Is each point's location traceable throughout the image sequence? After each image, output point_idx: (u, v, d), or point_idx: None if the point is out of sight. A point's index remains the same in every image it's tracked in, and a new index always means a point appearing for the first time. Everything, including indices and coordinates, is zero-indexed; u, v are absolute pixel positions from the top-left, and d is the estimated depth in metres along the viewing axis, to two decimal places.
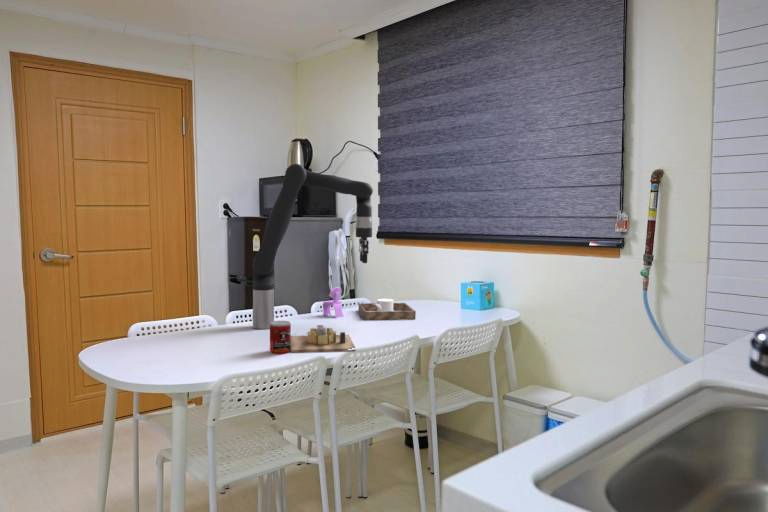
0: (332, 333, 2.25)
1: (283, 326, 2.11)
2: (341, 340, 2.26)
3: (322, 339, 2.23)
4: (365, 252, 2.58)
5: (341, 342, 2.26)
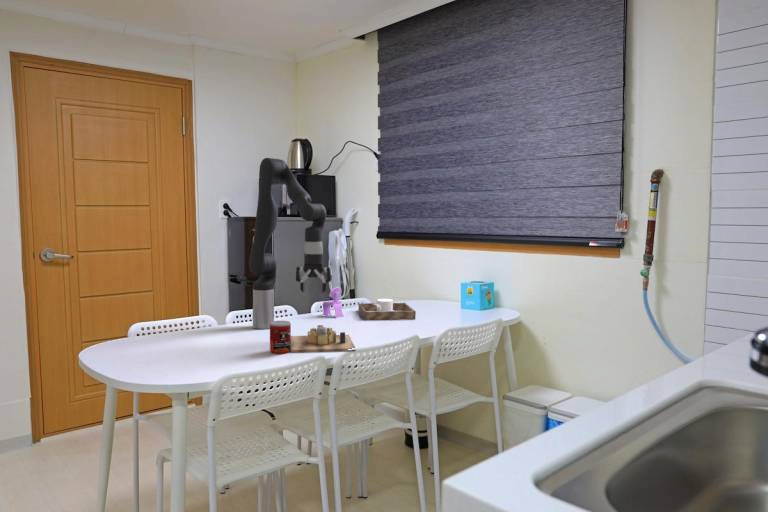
0: (332, 333, 2.25)
1: (283, 326, 2.11)
2: (341, 340, 2.26)
3: (322, 339, 2.23)
4: (330, 280, 2.36)
5: (341, 342, 2.26)
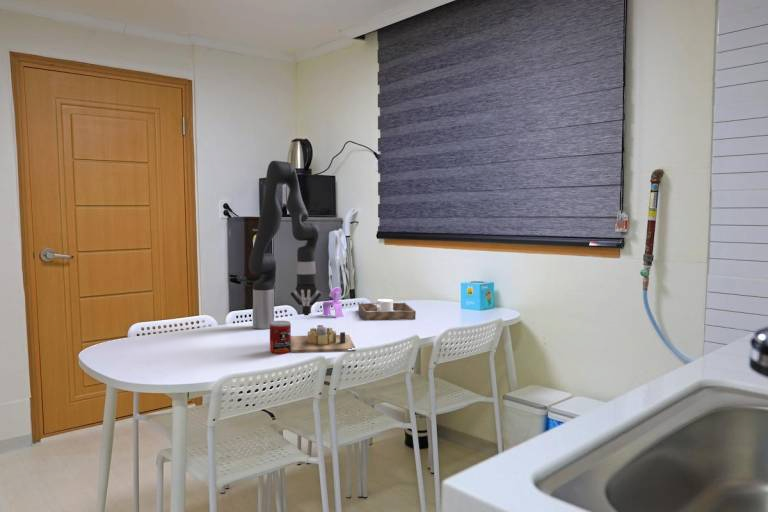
0: (332, 333, 2.25)
1: (283, 326, 2.11)
2: (341, 340, 2.26)
3: (322, 339, 2.23)
4: (313, 303, 2.34)
5: (341, 342, 2.26)
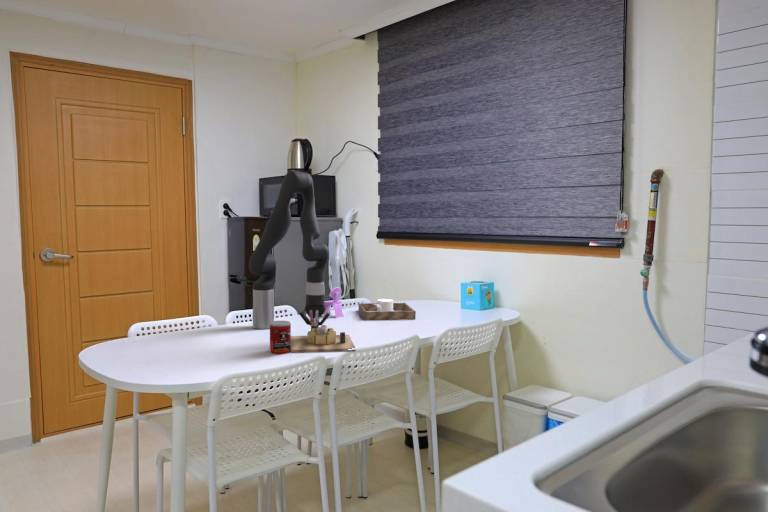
0: (331, 333, 2.24)
1: (283, 326, 2.11)
2: (341, 340, 2.26)
3: (320, 339, 2.22)
4: None
5: (341, 342, 2.26)
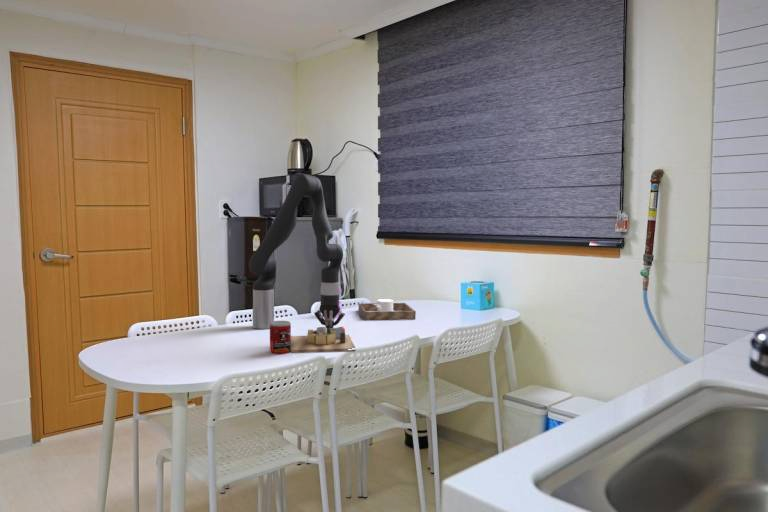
0: (321, 334, 2.22)
1: (283, 326, 2.11)
2: (341, 340, 2.26)
3: (310, 338, 2.24)
4: (336, 324, 2.34)
5: (341, 342, 2.26)
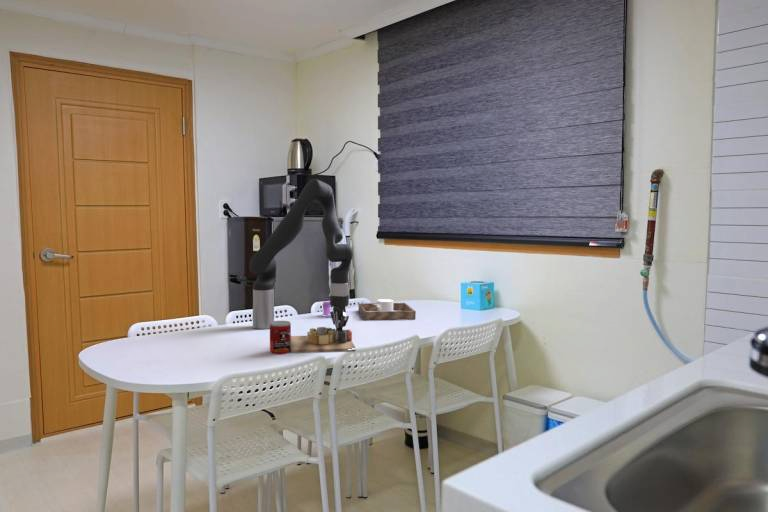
0: (313, 334, 2.23)
1: (283, 326, 2.11)
2: (341, 340, 2.26)
3: (307, 336, 2.27)
4: (342, 326, 2.30)
5: (341, 342, 2.26)
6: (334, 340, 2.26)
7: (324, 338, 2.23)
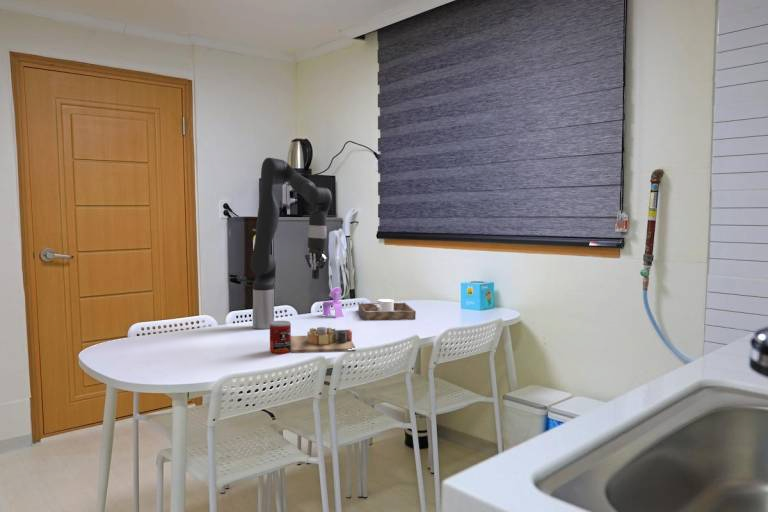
0: (313, 334, 2.23)
1: (283, 326, 2.11)
2: (341, 340, 2.26)
3: (307, 336, 2.27)
4: (320, 268, 2.34)
5: (341, 342, 2.26)
6: (334, 340, 2.26)
7: (324, 338, 2.23)
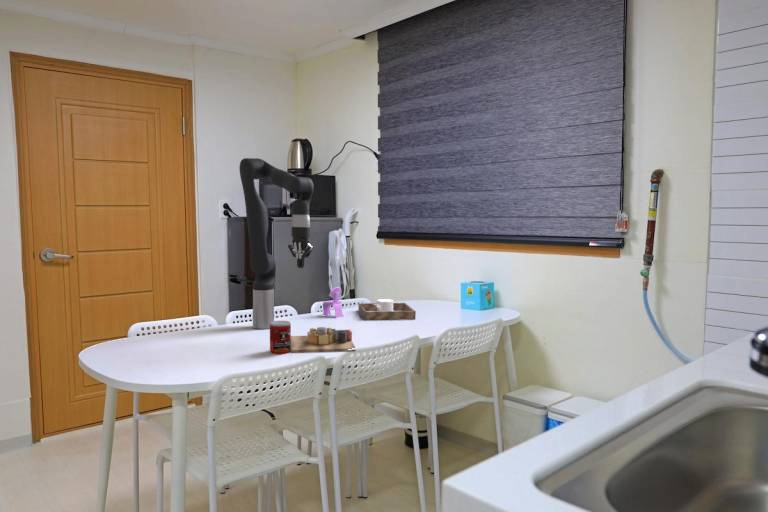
0: (313, 334, 2.23)
1: (283, 326, 2.11)
2: (341, 340, 2.26)
3: (307, 336, 2.27)
4: (305, 257, 2.36)
5: (341, 342, 2.26)
6: (334, 340, 2.26)
7: (324, 338, 2.23)
